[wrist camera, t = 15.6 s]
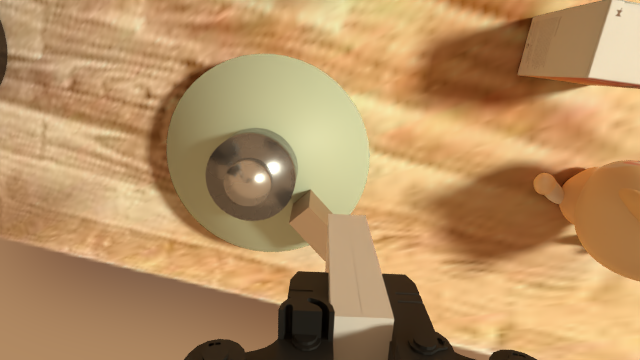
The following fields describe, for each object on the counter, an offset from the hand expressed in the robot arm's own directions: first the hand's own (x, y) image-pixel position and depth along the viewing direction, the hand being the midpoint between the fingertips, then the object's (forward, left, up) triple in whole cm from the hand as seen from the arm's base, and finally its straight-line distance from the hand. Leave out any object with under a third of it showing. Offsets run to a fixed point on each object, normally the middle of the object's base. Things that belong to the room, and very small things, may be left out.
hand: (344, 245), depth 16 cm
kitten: (+28, -7, -26) cm, 38 cm away
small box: (+23, +8, -26) cm, 35 cm away
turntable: (-6, -2, -26) cm, 26 cm away
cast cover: (-7, -3, -23) cm, 24 cm away
